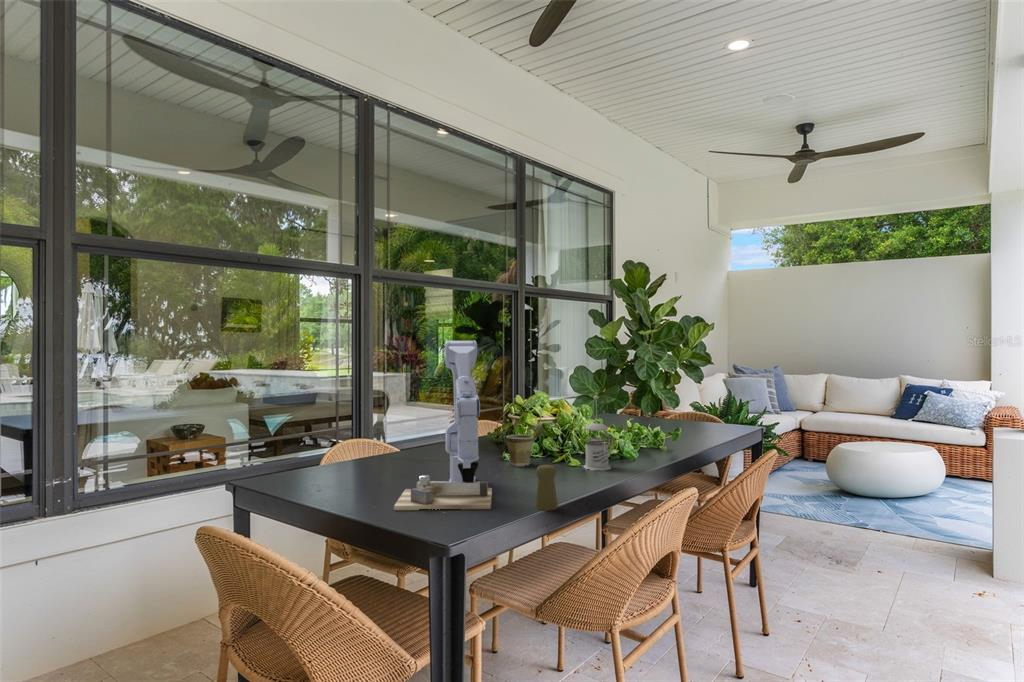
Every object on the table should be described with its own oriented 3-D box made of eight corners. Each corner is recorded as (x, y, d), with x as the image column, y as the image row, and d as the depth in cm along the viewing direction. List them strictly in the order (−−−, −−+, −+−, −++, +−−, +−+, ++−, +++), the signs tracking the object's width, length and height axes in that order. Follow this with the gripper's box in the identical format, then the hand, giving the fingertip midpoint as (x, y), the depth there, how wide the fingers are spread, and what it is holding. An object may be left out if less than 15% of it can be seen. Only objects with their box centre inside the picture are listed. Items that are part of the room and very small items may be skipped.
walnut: (424, 498, 164) (424, 484, 164) (437, 497, 164) (437, 484, 164) (422, 501, 161) (422, 487, 161) (436, 501, 161) (435, 487, 161)
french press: (576, 466, 211) (576, 395, 211) (602, 463, 217) (601, 393, 217) (595, 471, 202) (594, 396, 203) (621, 467, 209) (620, 395, 209)
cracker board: (405, 493, 175) (405, 489, 175) (491, 492, 175) (491, 488, 175) (394, 510, 157) (394, 505, 157) (490, 509, 157) (490, 504, 157)
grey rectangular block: (417, 499, 163) (417, 487, 163) (433, 502, 159) (432, 490, 159) (410, 501, 161) (410, 489, 161) (426, 504, 157) (426, 492, 157)
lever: (416, 494, 166) (416, 477, 166) (418, 492, 169) (418, 474, 169) (486, 495, 165) (486, 477, 165) (488, 492, 168) (487, 475, 168)
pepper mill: (544, 503, 163) (543, 462, 163) (562, 506, 159) (562, 464, 159) (530, 508, 158) (529, 465, 158) (549, 511, 154) (548, 468, 154)
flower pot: (534, 467, 211) (534, 438, 211) (505, 467, 211) (505, 438, 211) (533, 460, 224) (533, 433, 224) (506, 460, 224) (506, 433, 224)
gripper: (455, 436, 176) (455, 483, 176) (451, 444, 162) (451, 495, 162) (479, 436, 176) (480, 483, 176) (477, 444, 162) (478, 495, 162)
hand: (468, 489), depth 169 cm, fingers closed
